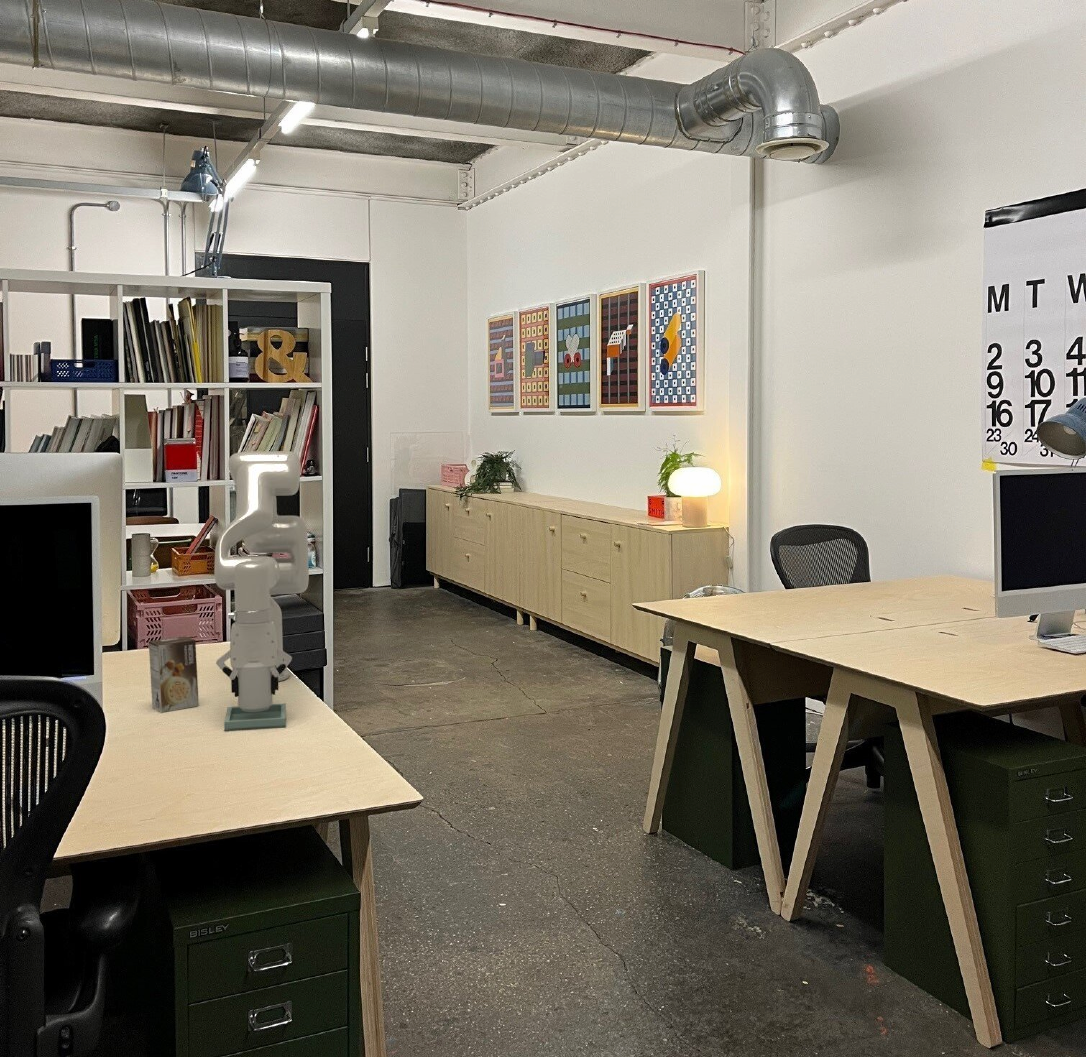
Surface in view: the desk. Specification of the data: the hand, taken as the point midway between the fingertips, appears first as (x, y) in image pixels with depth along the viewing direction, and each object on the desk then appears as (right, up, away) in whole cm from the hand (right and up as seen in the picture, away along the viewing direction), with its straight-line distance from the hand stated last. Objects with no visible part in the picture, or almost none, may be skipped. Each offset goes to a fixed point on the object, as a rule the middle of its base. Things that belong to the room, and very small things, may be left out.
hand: (255, 693), depth 247 cm
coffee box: (-22, -5, +13) cm, 26 cm away
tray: (0, -6, +1) cm, 6 cm away
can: (0, -3, 0) cm, 4 cm away
